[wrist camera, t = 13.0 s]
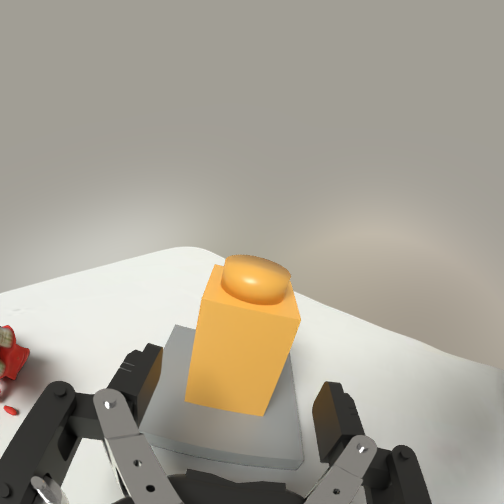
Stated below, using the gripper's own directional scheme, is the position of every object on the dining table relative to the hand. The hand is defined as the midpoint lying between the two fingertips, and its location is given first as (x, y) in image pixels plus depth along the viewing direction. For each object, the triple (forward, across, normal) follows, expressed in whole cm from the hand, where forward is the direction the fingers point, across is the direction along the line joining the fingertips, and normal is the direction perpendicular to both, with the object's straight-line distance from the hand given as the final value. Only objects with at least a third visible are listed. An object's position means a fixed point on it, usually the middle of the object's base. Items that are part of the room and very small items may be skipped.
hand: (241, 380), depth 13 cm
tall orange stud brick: (+8, 0, +8) cm, 11 cm away
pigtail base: (+8, 0, +9) cm, 12 cm away
